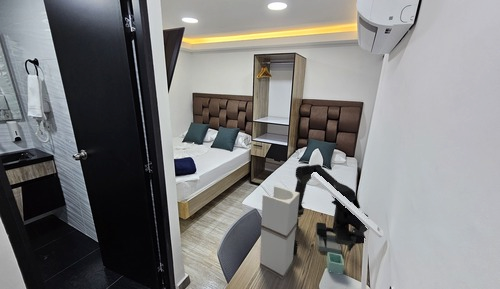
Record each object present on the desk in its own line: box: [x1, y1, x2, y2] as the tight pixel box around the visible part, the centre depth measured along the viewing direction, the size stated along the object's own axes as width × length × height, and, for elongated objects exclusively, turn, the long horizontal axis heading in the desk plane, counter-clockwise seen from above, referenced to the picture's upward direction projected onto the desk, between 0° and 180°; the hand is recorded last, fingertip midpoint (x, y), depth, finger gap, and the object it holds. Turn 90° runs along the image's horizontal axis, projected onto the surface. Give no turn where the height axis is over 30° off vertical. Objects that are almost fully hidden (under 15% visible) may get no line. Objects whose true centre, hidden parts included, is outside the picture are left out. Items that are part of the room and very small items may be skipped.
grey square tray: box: [316, 233, 342, 255], centre depth 103 cm, size 10×10×3 cm
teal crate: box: [326, 252, 345, 275], centre depth 89 cm, size 6×6×5 cm
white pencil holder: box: [259, 185, 300, 280], centre depth 86 cm, size 11×11×35 cm
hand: (336, 248), depth 88 cm, fingers open, 9 cm apart
